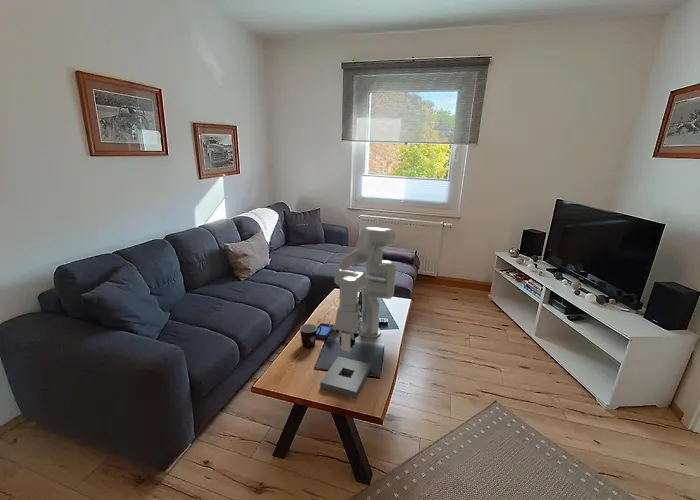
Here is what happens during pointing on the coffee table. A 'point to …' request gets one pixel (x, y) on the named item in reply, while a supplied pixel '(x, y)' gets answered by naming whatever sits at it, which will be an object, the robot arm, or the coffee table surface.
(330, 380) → the socket plate
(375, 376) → the coffee table surface
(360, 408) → the coffee table surface
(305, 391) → the coffee table surface
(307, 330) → the coffee mug
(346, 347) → the plug
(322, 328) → the handheld game console
